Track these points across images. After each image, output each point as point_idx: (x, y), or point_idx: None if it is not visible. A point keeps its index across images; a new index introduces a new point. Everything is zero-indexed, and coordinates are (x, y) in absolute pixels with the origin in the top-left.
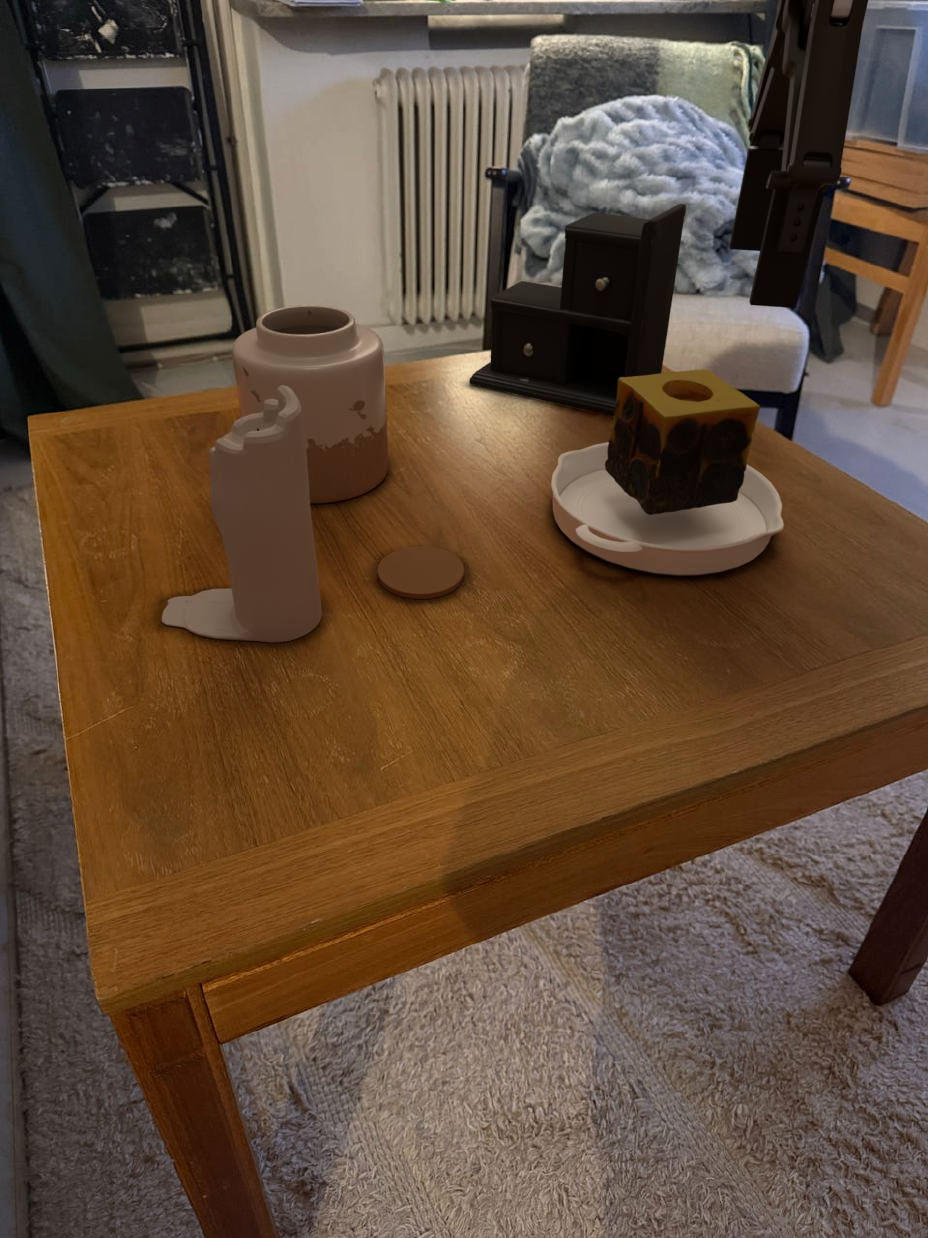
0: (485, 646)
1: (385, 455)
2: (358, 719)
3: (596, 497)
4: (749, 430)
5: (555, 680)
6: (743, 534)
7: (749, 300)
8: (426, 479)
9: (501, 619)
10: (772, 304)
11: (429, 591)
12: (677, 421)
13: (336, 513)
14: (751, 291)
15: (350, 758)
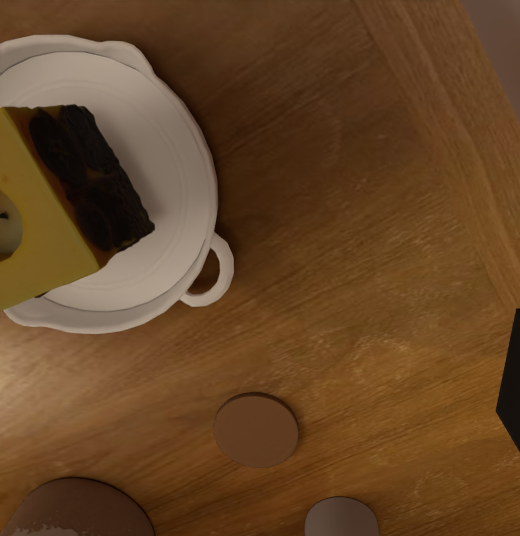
0: (364, 367)
1: (70, 496)
2: (470, 453)
3: None
4: (30, 114)
5: (410, 306)
6: (106, 86)
7: (498, 412)
8: (72, 440)
9: (320, 355)
10: None
11: (292, 422)
12: (92, 246)
13: (164, 508)
14: (505, 426)
15: (515, 452)
